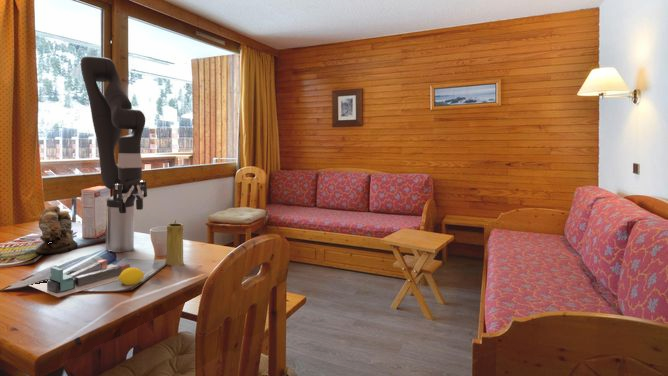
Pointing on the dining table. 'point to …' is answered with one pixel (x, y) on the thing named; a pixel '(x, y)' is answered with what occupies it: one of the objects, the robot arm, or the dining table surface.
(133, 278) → the lemon
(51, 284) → the tongs base
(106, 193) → the cracker box
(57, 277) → the lock collar
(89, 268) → the jaw
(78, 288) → the mat
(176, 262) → the green pillar candle
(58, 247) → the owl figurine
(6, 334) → the dining table surface
